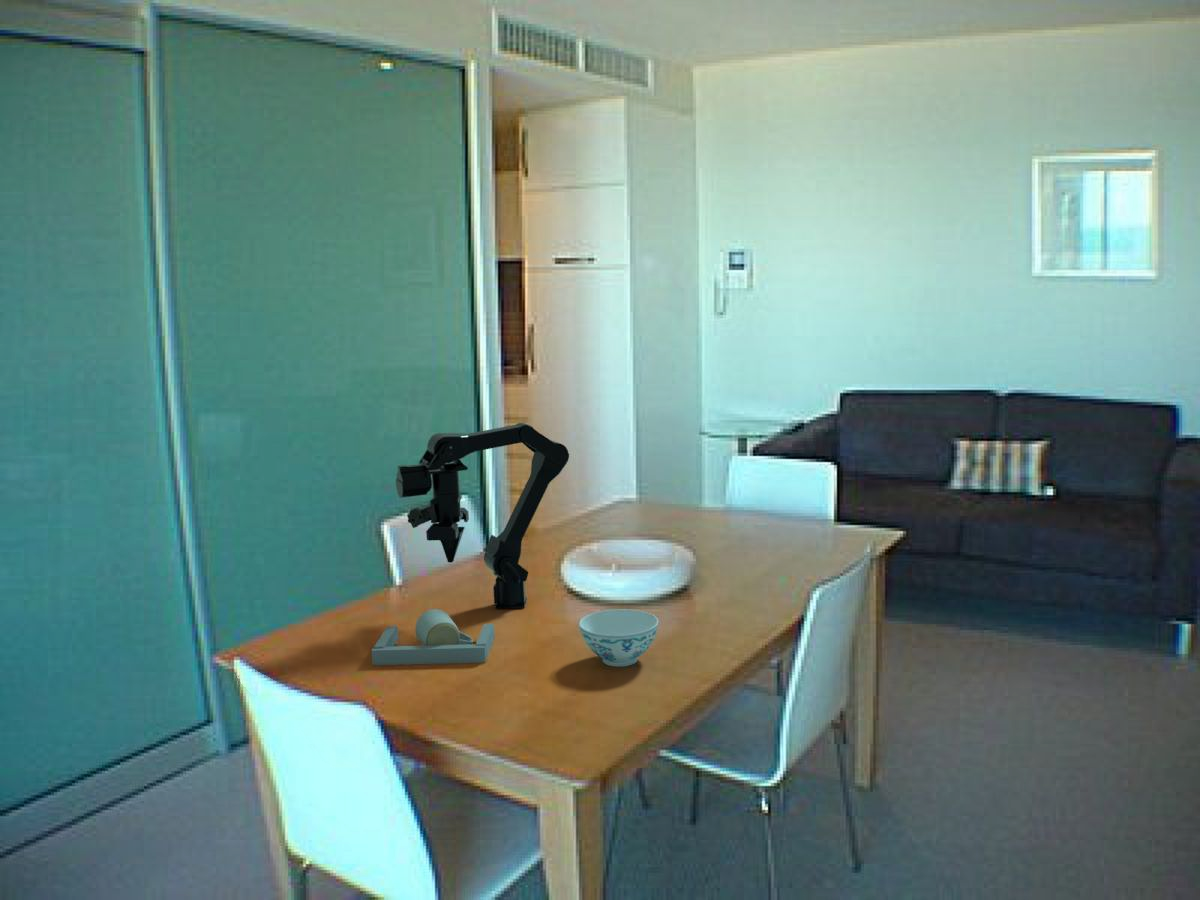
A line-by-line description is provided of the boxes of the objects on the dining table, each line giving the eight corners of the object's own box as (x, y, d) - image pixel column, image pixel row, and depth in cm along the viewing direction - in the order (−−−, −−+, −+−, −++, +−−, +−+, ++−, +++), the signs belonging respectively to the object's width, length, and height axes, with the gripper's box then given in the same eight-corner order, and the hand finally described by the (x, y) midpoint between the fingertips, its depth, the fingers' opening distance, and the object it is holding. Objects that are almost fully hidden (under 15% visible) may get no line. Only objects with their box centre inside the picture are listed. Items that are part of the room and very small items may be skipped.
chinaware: (567, 656, 210) (565, 618, 209) (633, 641, 217) (632, 604, 216) (605, 681, 197) (603, 640, 196) (674, 663, 204) (673, 624, 203)
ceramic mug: (427, 660, 211) (425, 623, 210) (415, 648, 218) (413, 611, 217) (478, 651, 215) (477, 614, 214) (466, 639, 223) (464, 603, 221)
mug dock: (494, 637, 223) (494, 623, 222) (485, 662, 209) (484, 647, 208) (388, 640, 223) (387, 626, 223) (372, 665, 210) (371, 650, 209)
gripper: (417, 484, 243) (422, 551, 246) (399, 502, 225) (405, 575, 227) (467, 482, 243) (471, 550, 245) (453, 501, 224) (457, 573, 227)
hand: (450, 562), depth 236 cm, fingers closed
